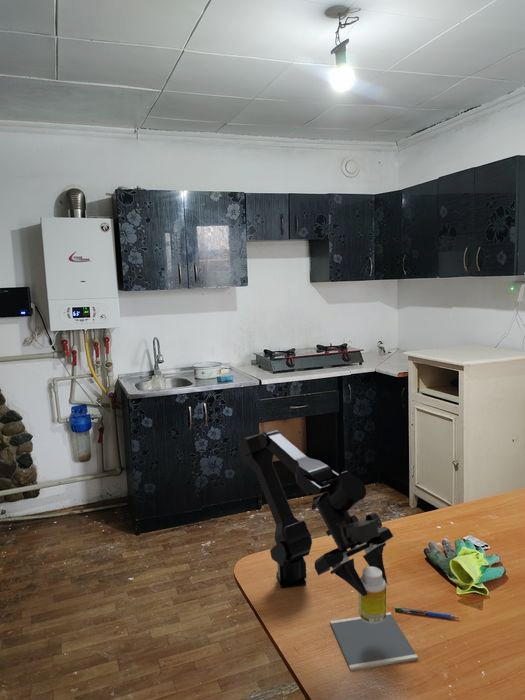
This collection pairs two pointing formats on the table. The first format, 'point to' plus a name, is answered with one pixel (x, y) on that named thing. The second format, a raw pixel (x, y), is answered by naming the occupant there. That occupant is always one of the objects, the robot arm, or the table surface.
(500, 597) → the table surface
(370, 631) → the mat
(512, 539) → the table surface
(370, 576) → the supplement bottle
